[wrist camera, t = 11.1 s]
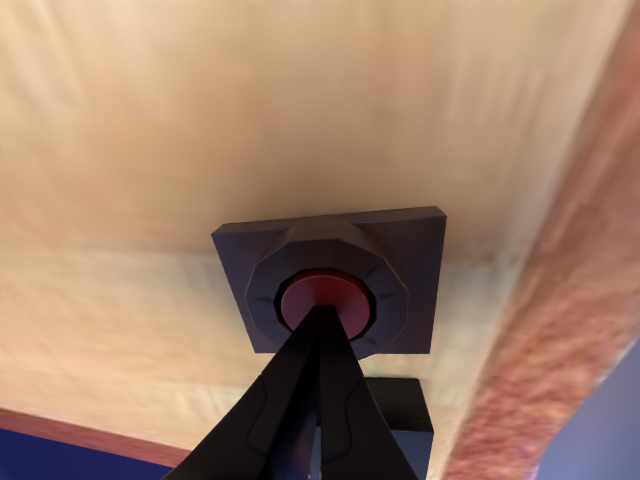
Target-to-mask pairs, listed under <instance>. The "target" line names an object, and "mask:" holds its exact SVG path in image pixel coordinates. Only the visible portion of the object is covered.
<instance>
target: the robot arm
mask: <svg viewBox="0 0 640 480" xmlns="http://www.w3.org/2000/svg"><path fill="white" fill-rule="evenodd" d="M319 403H320V416H321V464H322V465H321V480H419V479H418V477H417V475H416V474H415V472H414V470H413V469H412V467H411V465H410V463H409V462H408V460H407V458H406V456H405V455H404V453H403V451H402V449H401V448H400V446H399V444H398V442H397V441H396V439H395V437H394V435H393V434H392V432H391V430H390V428H389V427H388V425H387V423H386V421H385V419H384V417H383V416H382V414H381V412H380V410H379V408H378V406H377V404H376V402H375V400H374V398H373V395H372V393H371V391H370V389H369V387H368V384H367V382H366V379H365V377H364V375H363V373H362V370H361V368H360V365H359V363H358V361H357V358H356V356H355V353H354V351H353V349H352V346H351V344H350V341H349V339H348V337H347V334H346V332H345V330H344V327H343V325H342V322H341V320H340V318H339V315H338V313H337V310H336V308H335V306H334V305H325V306H323V305H314V306H313V307H312V308H311V309H310V311H309V312H308V313H307V314H306V316H305V317H304V318H303V320H302V321H301V322H300V323H299V325H298V326H297V327H296V329H295V330H294V331H293V332H292V334H291V335H290V336H289V338H288V339H287V340H286V341H285V343H284V344H283V345H282V347H281V348H280V349H279V351H278V352H277V353H276V354H275V356H274V357H273V358H272V360H271V361H270V362H269V363H268V365H267V366H266V367H265V369H264V370H263V371H262V372H261V375H259V376H258V377H257V379H256V380H255V381H254V383H253V384H252V385H251V386H250V388H249V389H248V390H247V391H246V392H245V394H244V395H243V396H242V397H241V399H240V400H239V401H238V402H237V403H236V404H235V405H234V406H233V408H232V409H231V410H230V411H229V412H228V413H227V414H226V415H225V416H224V417H223V419H222V420H221V421H220V422H219V423H218V424H217V425H216V426H215V427H214V428H213V429H212V430H211V432H210V433H209V434H208V435H207V436H206V437H205V438H204V439H203V440H202V441H201V442H200V443H199V444H198V446H197V447H196V448H195V449H194V450H193V451H192V452H191V453H190V454H189V455H188V456H187V457H186V458H185V459H184V460H183V461H182V462H181V463H180V464H179V465H178V466H176V467H175V468H174V469H173V470H172V471H170V472H169V473H168V474H166V475H165V476H164V477H162V478H161V479H159V480H308V477H309V470H310V464H311V457H312V450H313V443H314V437H315V430H316V423H317V417H318V410H319Z"/></svg>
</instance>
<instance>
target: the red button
mask: <svg viewBox="0 0 640 480" xmlns="http://www.w3.org/2000/svg"><path fill="white" fill-rule="evenodd" d="M314 305H323V306H325V305H334V306H335V308H336V310H337V313H338V315H339V318H340V320H341V322H342V325H343V327H344V330H345V332H346V334H347V337H348V339H350V338H353V337H354V336H356V335H357V334H359V333H360V332H361V331H362V330H363V329H364V327H365V326H366V324H367V322H368V320H369V316H370V307H369V299H368V291H367V286H366V284H365V283H364V282H363V281H362V279H360V278H358V277H356V276H353V275H351V274H348V273H346V272H343V271H341V270H339V269H336V268H334V267H330V268H310V269H302V270H300V271H299V272H297V273H296V274H294V275H292V276H291V277H290V278H289V280H288V283H287V286H286V289H285V291H284V294H283V297H282V300H281V311H282V315H283V318H284V319H285V321H286V323H287V324H288V326H289V327H290V328H291V329H292V330H295V329H296V327H297V326H298V325H299V323H300V322H301V321H302V320H303V318H304V317H305V316H306V314H307V313H308V312H309V311H310V309H311V308H312V307H313V306H314Z"/></svg>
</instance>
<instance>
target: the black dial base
mask: <svg viewBox="0 0 640 480" xmlns="http://www.w3.org/2000/svg"><path fill="white" fill-rule="evenodd" d="M365 379H366V382H367V384H368V387H369V389H370V391H371V393H372V395H373V398H374V400H375V402H376V404H377V406H378V408H379V410H380V412H381V414H382V416H383V417H384V419H385V421H386V423H387V425H388V427H389V428H390V430H391V432H392V434H393V435H394V437H395V439H396V441H397V442H398V444H399V446H400V448H401V449H402V451H403V453H404V455H405V456H406V458H407V460H408V462H409V463H410V465H411V467H412V469H413V470H414V472H415V474H416V475H417V477H418V479H419V480H426V475H427V470H428V464H429V458H430V453H431V447H432V441H433V436H434V430H433V427H432V423H431V420H430V416H429V413H428V409H427V406H426V402H425V399H424V395H423V392H422V388H421V385H420V381H419V380H418V379H379V378H365ZM321 465H322V464H321V416H320V403H319V410H318V417H317V423H316V430H315V437H314V443H313V450H312V457H311V464H310V470H309V477H308V480H319V475H320V472H321Z"/></svg>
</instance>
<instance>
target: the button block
mask: <svg viewBox="0 0 640 480" xmlns="http://www.w3.org/2000/svg"><path fill="white" fill-rule="evenodd" d="M446 219H447V215H446V214H444V213H443V212H442V211H441V210H440V209H439V208H438V207H437V206H431V207H419V208H408V209H396V210H384V211H373V212H361V213H349V214H338V215H326V216H314V217H302V218H291V219H279V220H267V221H256V222H244V223H232V224H223V225H222V226H220V227H219V228H218V229H217V230H216V231H214V232H213V233H212V234H211V236H212V239H213V241H214V244H215V247H216V250H217V252H218V255H219V258H220V260H221V263H222V266H223V268H224V271H225V274H226V276H227V279H228V282H229V284H230V287H231V290H232V292H233V295H234V298H235V300H236V303H237V306H238V308H239V311H240V314H241V316H242V319H243V322H244V324H245V327H246V330H247V332H248V335H249V338H250V340H251V343H252V346H253V348H254V351H255V353H277V352H278V351H279V349H280V348H281V347H282V345H283V344H284V343H285V341H286V340H287V339H288V338H289V336H290V335H291V334H292V332H293V331H294V330H292V329H291V328H290V327H289V326H288V324H287V323H286V321H285V319H284V318H283V315H282V311H281V300H282V297H283V294H284V291H285V289H286V286H287V283H288V280H289V278H290V277H291V276H292V275H294V274H296V273H297V272H299V271H300V270H302V269H310V268H330V267H334V268H336V269H339V270H341V271H343V272H346V273H348V274H351V275H353V276H356V277H358V278H360V279H362V281H363V282H364V283H365V284H366V286H367V291H368V299H369V307H370V316H369V320H368V322H367V324H366V326H365V327H364V329H363V330H362V331H361V332H360V333H359V334H357V335H356V336H354V337H353V338H350V339H349V341H350V344H351V346H352V349H353V351H354V353H355V356H356V358H357V361H358V360H360V359H363V358H366V357H368V356H371V355H374V354H430V347H431V339H432V331H433V323H434V315H435V307H436V299H437V291H438V283H439V275H440V267H441V259H442V251H443V243H444V235H445V227H446Z"/></svg>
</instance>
